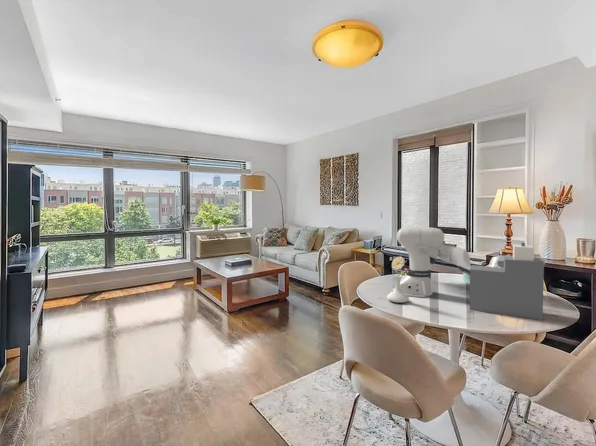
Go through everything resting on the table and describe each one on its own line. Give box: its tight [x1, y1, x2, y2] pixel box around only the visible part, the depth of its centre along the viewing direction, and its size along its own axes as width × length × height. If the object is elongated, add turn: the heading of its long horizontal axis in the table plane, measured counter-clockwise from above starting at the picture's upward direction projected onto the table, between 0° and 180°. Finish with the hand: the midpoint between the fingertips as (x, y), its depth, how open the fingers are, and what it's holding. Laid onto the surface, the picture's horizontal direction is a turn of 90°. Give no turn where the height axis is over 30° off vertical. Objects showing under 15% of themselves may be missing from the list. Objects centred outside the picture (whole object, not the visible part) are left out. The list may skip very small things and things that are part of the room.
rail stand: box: [469, 255, 545, 321], centre depth 143 cm, size 12×28×26 cm, turn 57°
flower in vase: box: [386, 256, 410, 303], centre depth 159 cm, size 13×11×25 cm
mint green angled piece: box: [462, 272, 470, 285], centre depth 195 cm, size 12×12×8 cm
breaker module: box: [512, 242, 535, 261], centre depth 142 cm, size 19×7×8 cm, turn 147°
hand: (520, 256), depth 151 cm, fingers open, 8 cm apart
